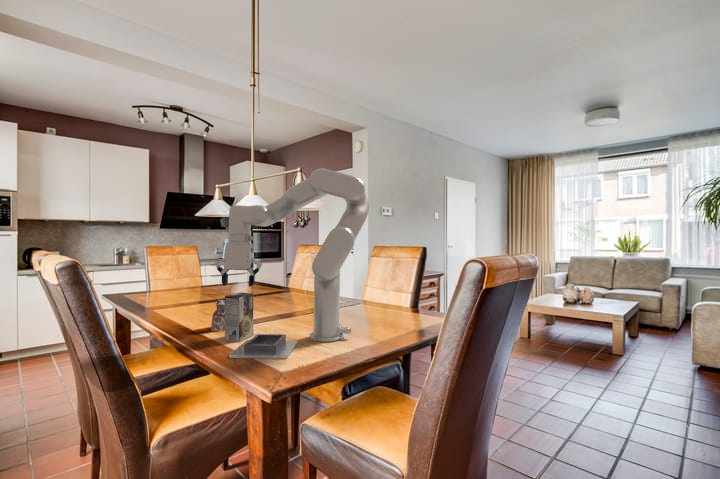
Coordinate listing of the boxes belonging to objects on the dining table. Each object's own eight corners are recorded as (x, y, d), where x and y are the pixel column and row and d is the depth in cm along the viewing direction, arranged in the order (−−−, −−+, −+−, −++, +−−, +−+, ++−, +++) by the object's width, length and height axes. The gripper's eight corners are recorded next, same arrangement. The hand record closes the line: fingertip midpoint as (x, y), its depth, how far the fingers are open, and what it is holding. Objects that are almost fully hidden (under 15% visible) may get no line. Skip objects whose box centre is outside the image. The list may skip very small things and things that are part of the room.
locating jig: (298, 343, 125) (298, 333, 125) (287, 358, 109) (287, 347, 109) (247, 342, 125) (247, 332, 125) (229, 358, 109) (229, 346, 109)
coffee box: (239, 334, 136) (239, 292, 136) (253, 335, 135) (254, 292, 135) (223, 340, 128) (223, 295, 128) (239, 342, 126) (239, 296, 126)
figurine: (212, 332, 139) (212, 301, 139) (209, 328, 145) (209, 299, 145) (231, 330, 142) (231, 300, 142) (227, 326, 148) (228, 297, 148)
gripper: (265, 239, 135) (264, 285, 135) (220, 238, 135) (219, 283, 135) (259, 239, 127) (258, 287, 127) (211, 238, 128) (210, 286, 128)
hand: (238, 285), depth 131 cm, fingers open, 9 cm apart
